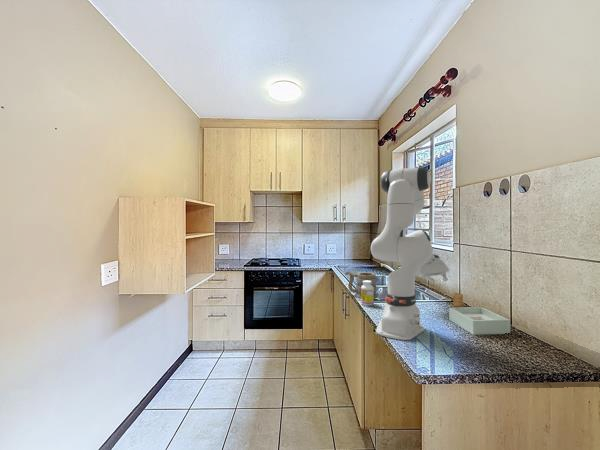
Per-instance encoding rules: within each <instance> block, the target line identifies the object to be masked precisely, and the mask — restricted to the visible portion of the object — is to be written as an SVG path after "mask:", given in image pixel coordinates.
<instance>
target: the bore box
mask: <svg viewBox="0 0 600 450" xmlns="http://www.w3.org/2000/svg"><path fill="white" fill-rule="evenodd" d="M448 311H449V313H448V318H449V321H451V322H452V323H454V324H456V325H457V326H459V327H460V328H461V329H463V330H465V331H467V332H468V333H469V334H472V335H473V336H475V335H477V336H478V335H508V333H510V334H511V319H509V318H507V317H504V316H502V315H501V314H498V313H496V312H494V311H491V310H489V309H487V308H484V307H482V306H467V307H466V306H463V307H459V308H453V307H449V309H448ZM505 333H507V334H505Z"/></svg>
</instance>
